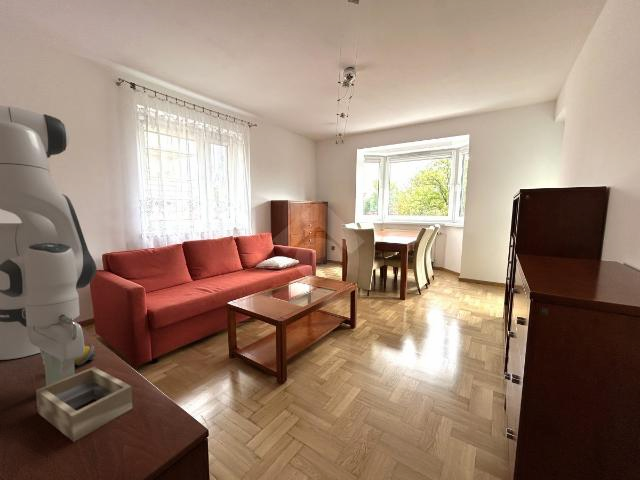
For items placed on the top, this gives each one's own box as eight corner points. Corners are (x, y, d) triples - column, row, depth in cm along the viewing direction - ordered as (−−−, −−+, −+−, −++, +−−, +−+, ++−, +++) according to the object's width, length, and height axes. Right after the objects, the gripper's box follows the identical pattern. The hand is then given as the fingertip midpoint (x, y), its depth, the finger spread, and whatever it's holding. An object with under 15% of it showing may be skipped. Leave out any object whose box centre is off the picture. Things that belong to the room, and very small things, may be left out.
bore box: (37, 412, 56) (36, 390, 56) (94, 386, 65) (93, 366, 65) (73, 442, 49) (72, 416, 49) (132, 408, 58) (131, 386, 57)
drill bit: (97, 365, 75) (60, 352, 69) (84, 371, 76) (46, 358, 70) (106, 347, 79) (72, 333, 73) (93, 352, 80) (59, 339, 74)
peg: (46, 388, 64) (43, 348, 63) (67, 380, 67) (65, 341, 67) (53, 393, 62) (51, 352, 61) (75, 384, 66) (73, 345, 65)
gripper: (92, 315, 61) (95, 373, 62) (54, 302, 70) (57, 353, 71) (54, 324, 55) (58, 388, 56) (19, 309, 65) (22, 364, 65)
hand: (57, 368), depth 64 cm, fingers open, 8 cm apart
